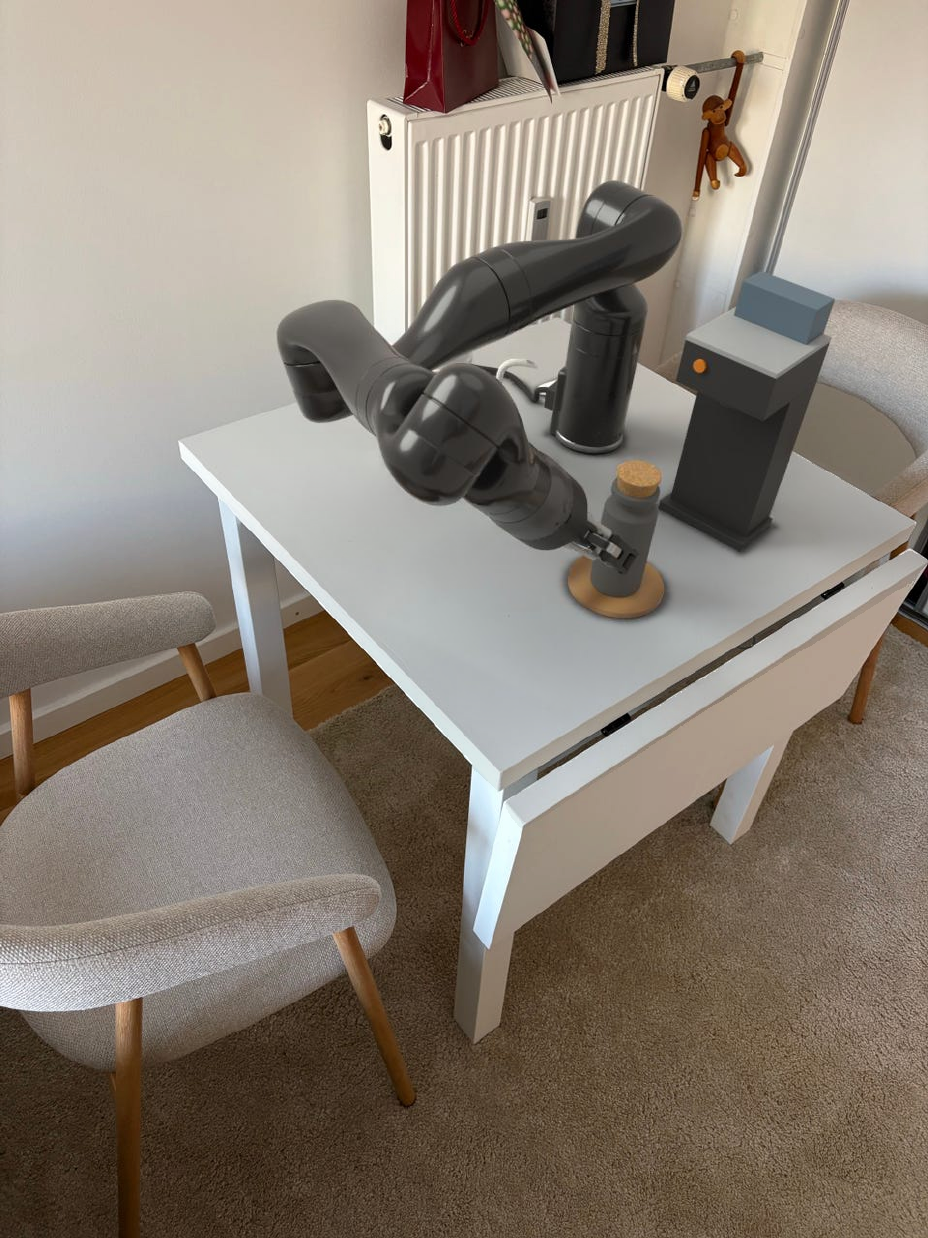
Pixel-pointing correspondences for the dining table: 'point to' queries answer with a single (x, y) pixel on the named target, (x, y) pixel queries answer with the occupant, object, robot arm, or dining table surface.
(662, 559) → the dining table surface
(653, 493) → the bottle
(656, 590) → the disc
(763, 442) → the coffee maker
